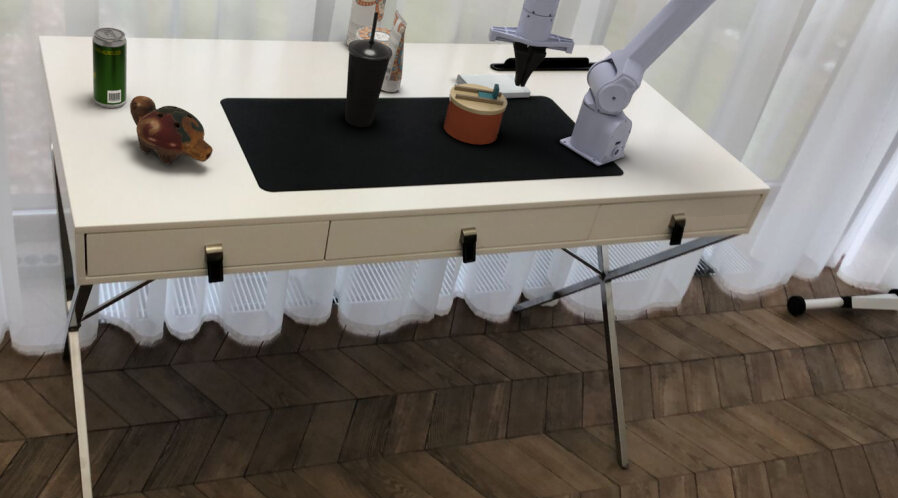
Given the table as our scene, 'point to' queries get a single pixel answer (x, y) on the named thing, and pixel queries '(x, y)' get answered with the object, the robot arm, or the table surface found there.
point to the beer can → (109, 67)
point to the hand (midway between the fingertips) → (519, 84)
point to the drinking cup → (365, 78)
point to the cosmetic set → (380, 36)
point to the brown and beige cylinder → (474, 114)
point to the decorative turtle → (168, 131)
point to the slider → (489, 95)
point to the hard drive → (490, 80)
